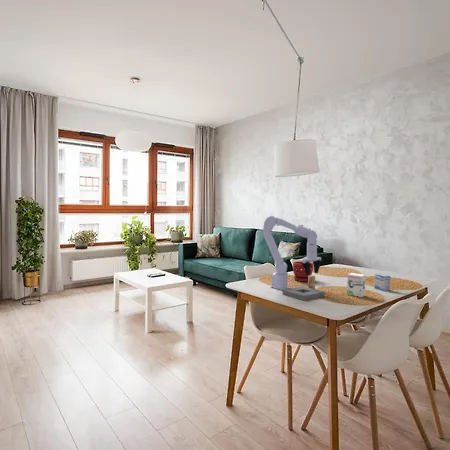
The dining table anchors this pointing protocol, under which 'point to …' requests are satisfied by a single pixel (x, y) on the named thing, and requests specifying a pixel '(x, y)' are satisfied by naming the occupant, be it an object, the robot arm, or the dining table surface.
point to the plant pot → (301, 271)
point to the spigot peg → (311, 282)
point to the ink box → (356, 284)
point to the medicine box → (382, 282)
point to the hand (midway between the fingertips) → (311, 273)
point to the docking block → (303, 293)
